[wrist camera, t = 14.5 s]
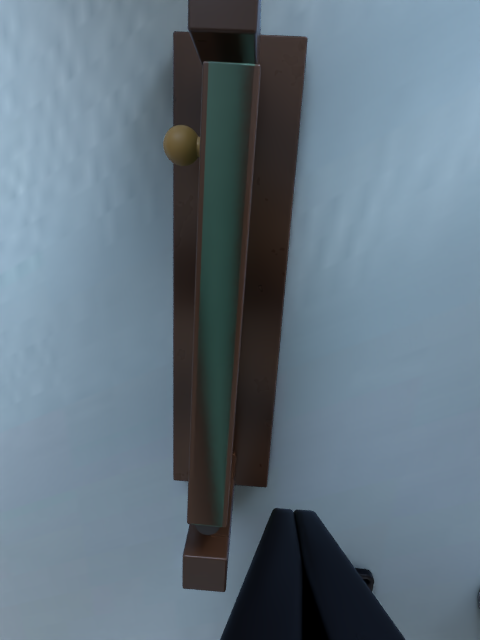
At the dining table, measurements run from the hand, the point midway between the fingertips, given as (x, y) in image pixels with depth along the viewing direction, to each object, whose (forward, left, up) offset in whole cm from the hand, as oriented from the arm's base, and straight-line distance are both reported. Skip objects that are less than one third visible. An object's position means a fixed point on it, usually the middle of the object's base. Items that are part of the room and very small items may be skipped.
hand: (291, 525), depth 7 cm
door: (+2, +3, -9) cm, 10 cm away
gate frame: (+2, +2, -11) cm, 11 cm away
